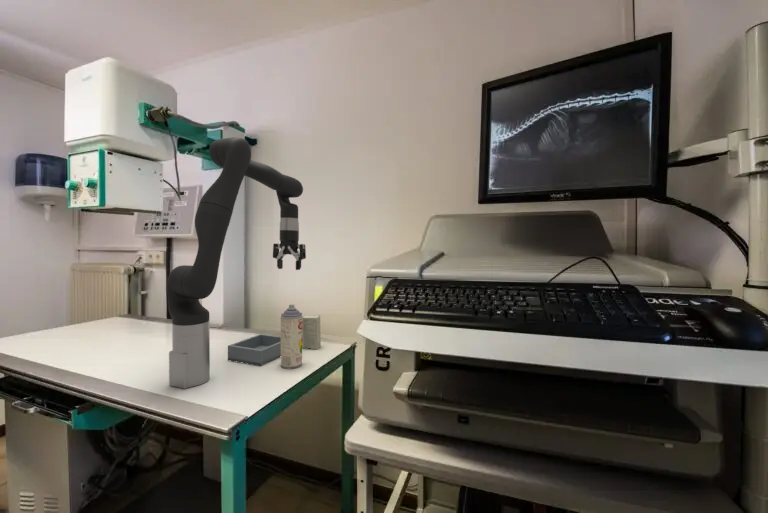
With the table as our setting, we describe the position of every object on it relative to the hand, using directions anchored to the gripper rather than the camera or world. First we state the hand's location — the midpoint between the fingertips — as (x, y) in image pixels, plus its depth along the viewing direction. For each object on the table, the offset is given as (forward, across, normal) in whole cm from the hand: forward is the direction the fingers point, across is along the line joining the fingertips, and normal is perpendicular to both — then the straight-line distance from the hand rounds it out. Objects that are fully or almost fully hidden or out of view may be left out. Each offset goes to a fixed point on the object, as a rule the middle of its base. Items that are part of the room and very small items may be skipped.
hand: (289, 269), depth 137 cm
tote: (+29, +3, -20) cm, 35 cm away
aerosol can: (+29, +18, -24) cm, 42 cm away
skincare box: (+29, +14, -5) cm, 33 cm away
